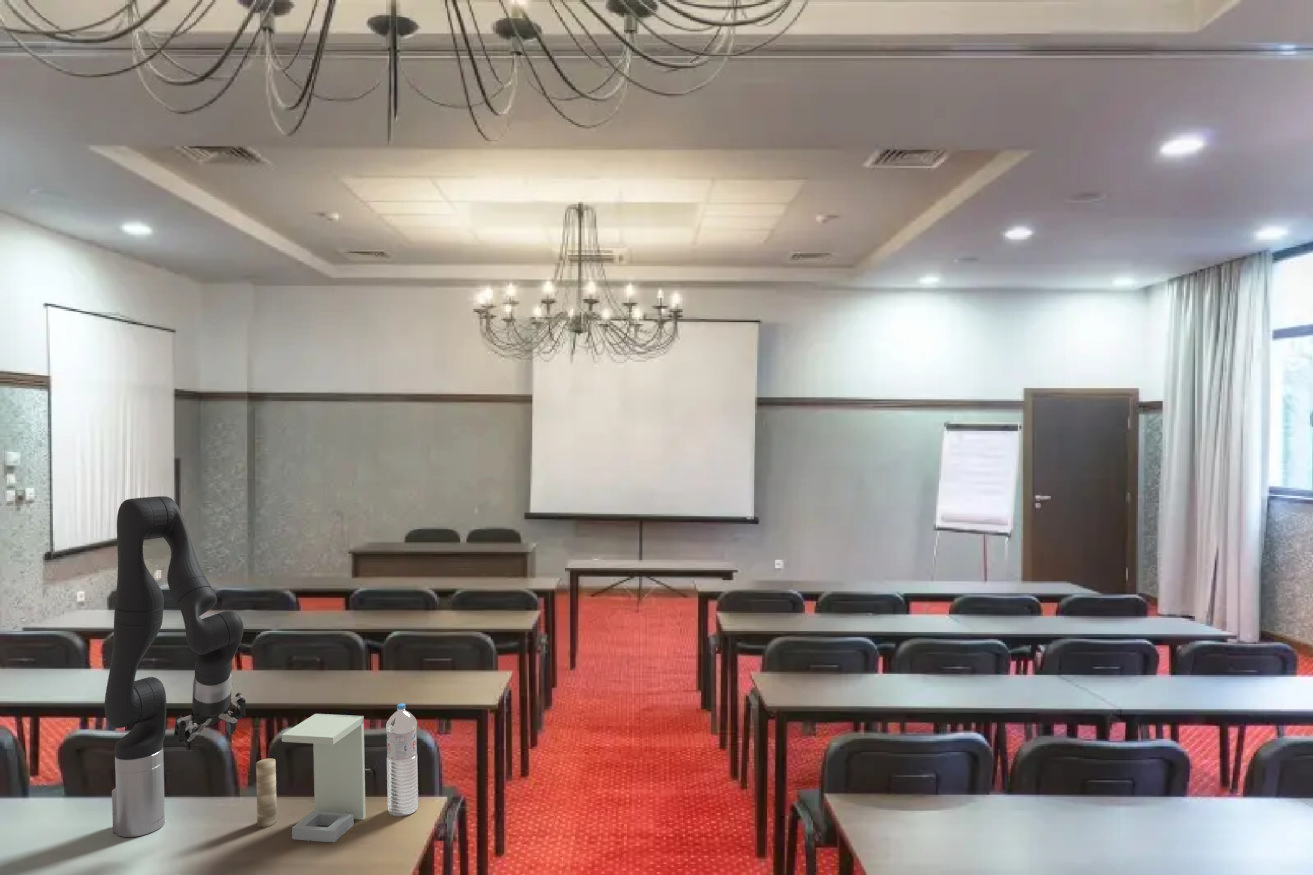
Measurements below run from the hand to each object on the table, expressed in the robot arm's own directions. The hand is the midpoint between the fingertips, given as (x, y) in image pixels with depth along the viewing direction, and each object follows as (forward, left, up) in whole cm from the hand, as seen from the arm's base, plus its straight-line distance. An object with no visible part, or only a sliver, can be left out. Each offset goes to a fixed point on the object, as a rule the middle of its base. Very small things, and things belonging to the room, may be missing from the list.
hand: (210, 740), depth 190 cm
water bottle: (+40, +13, -20) cm, 46 cm away
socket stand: (+27, +1, -19) cm, 33 cm away
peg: (+12, +3, -19) cm, 23 cm away
